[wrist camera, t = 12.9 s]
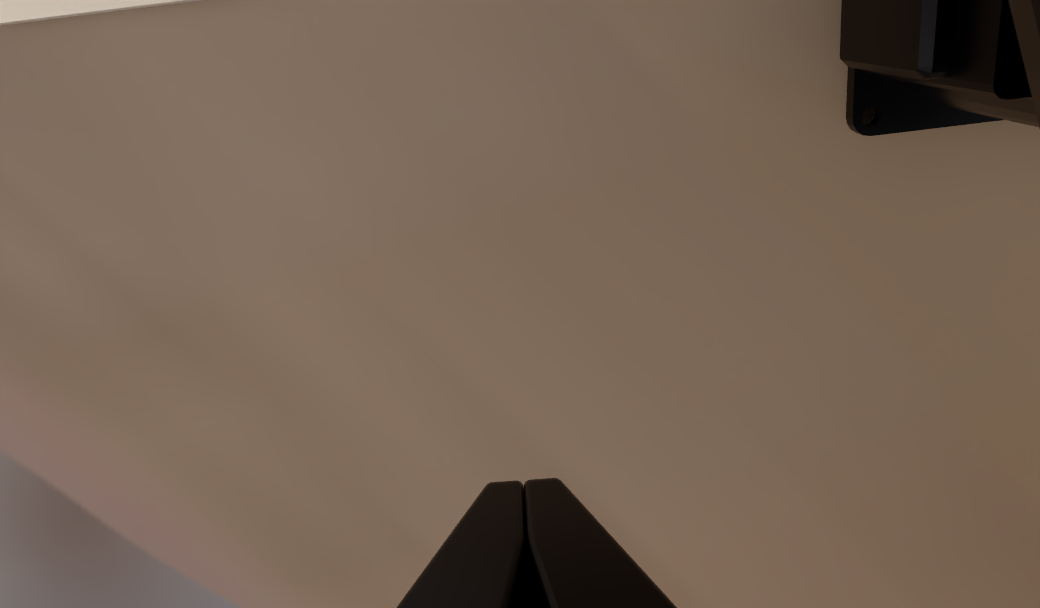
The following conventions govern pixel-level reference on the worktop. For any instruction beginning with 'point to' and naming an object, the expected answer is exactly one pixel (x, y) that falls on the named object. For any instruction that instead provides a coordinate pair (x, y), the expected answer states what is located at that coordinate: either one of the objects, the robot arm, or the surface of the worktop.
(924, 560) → the worktop surface
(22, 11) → the switch plate
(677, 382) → the worktop surface
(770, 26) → the worktop surface
